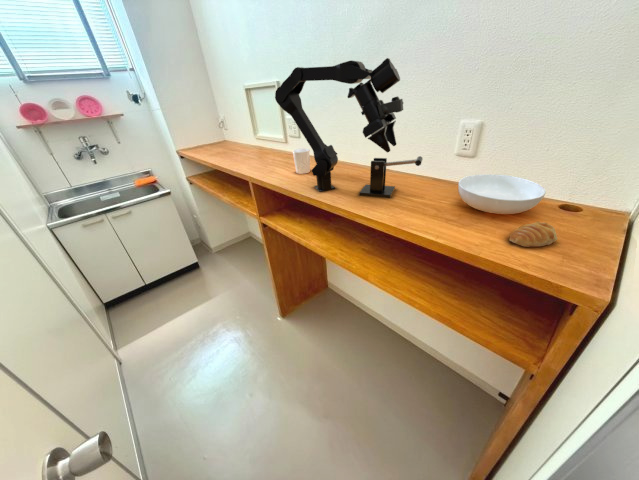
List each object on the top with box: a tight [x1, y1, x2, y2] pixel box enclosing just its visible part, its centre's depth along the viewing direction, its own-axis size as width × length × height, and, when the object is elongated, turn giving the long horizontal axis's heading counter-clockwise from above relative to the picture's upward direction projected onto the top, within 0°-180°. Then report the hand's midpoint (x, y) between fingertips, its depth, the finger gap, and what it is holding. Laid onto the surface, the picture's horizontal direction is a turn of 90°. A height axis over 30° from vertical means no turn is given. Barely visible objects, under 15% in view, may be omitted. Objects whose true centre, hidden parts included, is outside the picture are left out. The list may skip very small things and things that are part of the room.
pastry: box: [509, 221, 558, 248], centre depth 58 cm, size 9×7×4 cm
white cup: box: [292, 148, 311, 175], centre depth 119 cm, size 8×8×10 cm
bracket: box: [358, 157, 396, 199], centre depth 89 cm, size 11×9×12 cm
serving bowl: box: [457, 173, 547, 215], centre depth 74 cm, size 21×21×7 cm
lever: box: [382, 155, 424, 167], centre depth 84 cm, size 15×5×2 cm, turn 66°
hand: (392, 148), depth 82 cm, fingers open, 9 cm apart
